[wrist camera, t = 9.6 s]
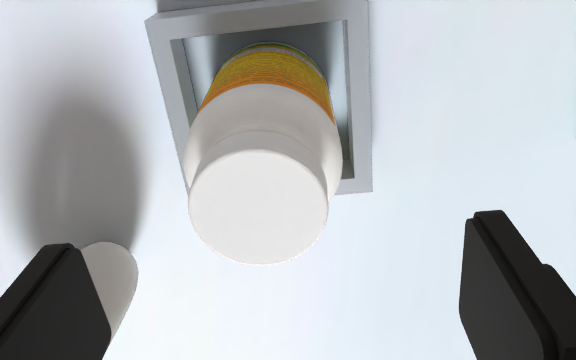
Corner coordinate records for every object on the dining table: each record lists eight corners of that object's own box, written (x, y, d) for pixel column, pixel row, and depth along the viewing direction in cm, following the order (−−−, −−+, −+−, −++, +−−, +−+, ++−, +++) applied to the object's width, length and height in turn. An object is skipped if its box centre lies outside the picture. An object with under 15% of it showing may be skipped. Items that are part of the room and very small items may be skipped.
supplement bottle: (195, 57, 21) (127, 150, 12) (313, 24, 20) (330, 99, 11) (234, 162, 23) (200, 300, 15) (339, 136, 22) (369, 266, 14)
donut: (112, 193, 24) (9, 347, 15) (170, 226, 25) (105, 389, 16) (36, 306, 28) (-81, 481, 19) (89, 331, 29) (1, 509, 20)
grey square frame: (157, 12, 20) (144, 21, 18) (360, -12, 19) (367, -5, 17) (198, 187, 24) (191, 208, 22) (366, 171, 23) (372, 191, 21)
